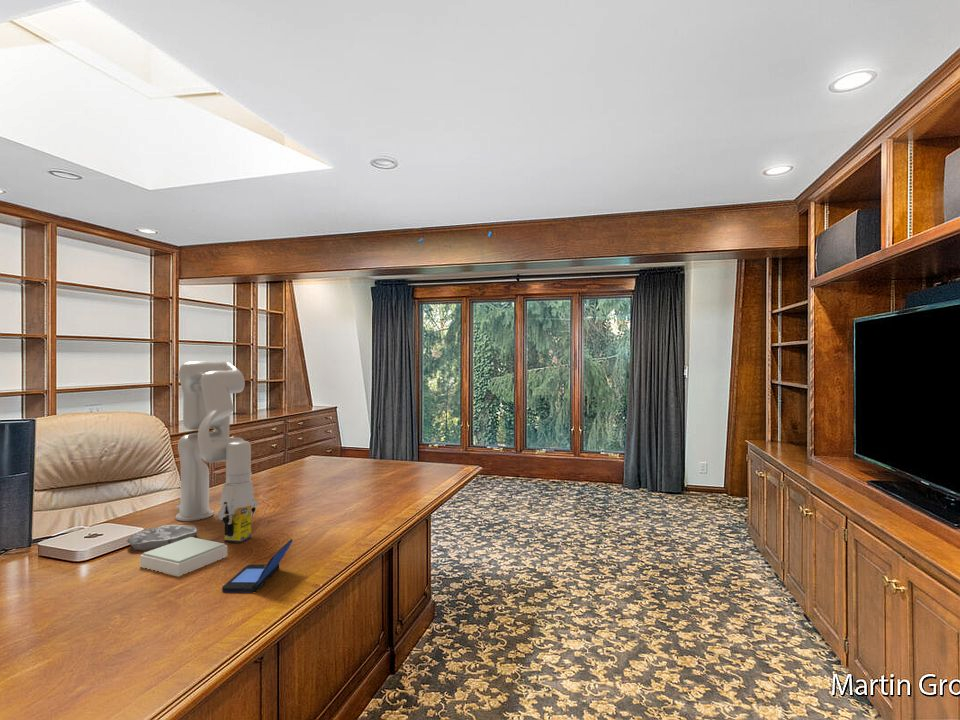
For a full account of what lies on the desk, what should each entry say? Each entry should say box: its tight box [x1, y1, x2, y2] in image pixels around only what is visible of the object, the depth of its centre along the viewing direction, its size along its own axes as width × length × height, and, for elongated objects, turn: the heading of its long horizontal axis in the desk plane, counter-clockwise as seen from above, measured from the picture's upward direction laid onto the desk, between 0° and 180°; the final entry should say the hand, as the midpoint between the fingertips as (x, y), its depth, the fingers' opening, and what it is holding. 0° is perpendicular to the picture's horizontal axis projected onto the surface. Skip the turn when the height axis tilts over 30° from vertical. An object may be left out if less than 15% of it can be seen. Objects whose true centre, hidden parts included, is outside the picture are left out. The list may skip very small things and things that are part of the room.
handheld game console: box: [221, 538, 293, 593], centre depth 141 cm, size 16×13×9 cm
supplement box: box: [224, 506, 252, 544], centre depth 172 cm, size 6×6×11 cm
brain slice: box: [127, 524, 198, 551], centre depth 171 cm, size 20×17×3 cm
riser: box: [139, 536, 228, 578], centre depth 153 cm, size 16×16×4 cm
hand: (238, 531), depth 172 cm, fingers closed on supplement box, 6 cm apart
